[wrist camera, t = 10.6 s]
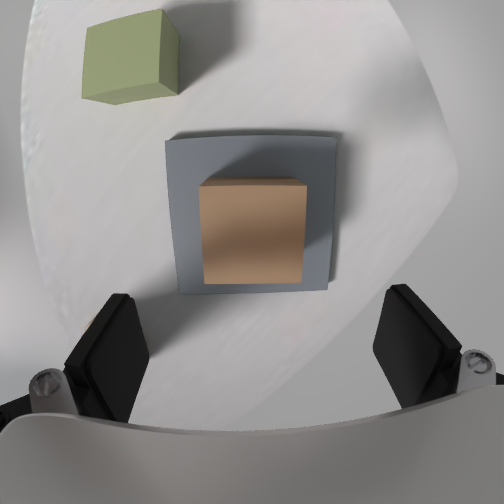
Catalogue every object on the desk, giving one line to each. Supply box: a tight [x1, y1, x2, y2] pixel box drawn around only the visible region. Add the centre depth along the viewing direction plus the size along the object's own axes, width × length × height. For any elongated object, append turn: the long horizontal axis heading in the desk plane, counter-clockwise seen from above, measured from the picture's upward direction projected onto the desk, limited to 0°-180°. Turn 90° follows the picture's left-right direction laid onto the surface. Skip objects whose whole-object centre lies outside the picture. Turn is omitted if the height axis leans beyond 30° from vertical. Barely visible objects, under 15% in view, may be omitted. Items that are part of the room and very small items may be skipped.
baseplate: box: [165, 135, 336, 294], centre depth 25 cm, size 14×14×1 cm
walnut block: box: [199, 177, 307, 284], centre depth 22 cm, size 7×7×5 cm
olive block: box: [82, 9, 179, 105], centre depth 17 cm, size 6×6×6 cm
